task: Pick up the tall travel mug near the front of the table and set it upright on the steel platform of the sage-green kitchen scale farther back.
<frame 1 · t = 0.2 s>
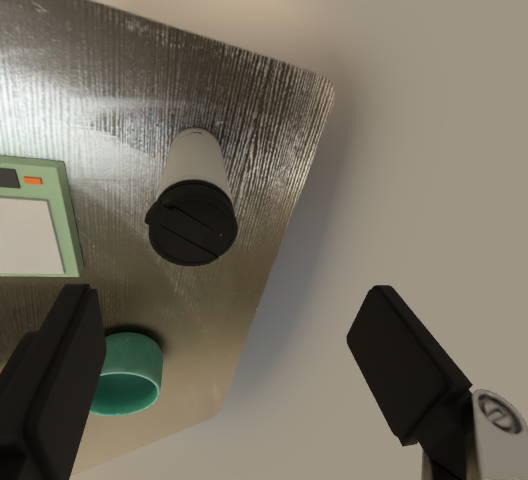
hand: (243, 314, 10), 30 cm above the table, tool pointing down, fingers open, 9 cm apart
scale: (12, 216, 36), on the table
travel mug: (195, 151, 36), on the table
mug: (118, 344, 53), on the table
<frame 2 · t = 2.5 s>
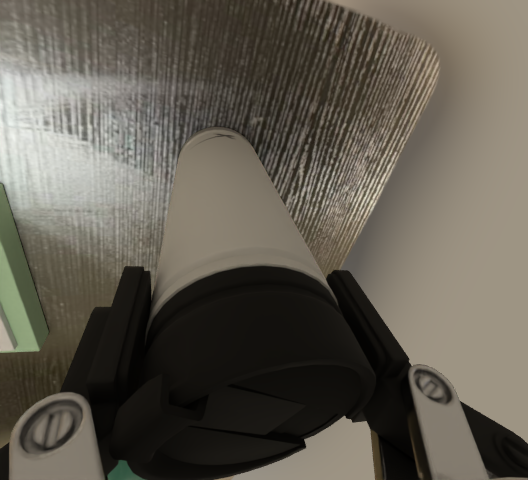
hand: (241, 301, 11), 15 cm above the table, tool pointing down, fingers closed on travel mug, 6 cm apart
travel mug: (216, 164, 23), on the table, touching gripper
mug: (103, 419, 39), on the table
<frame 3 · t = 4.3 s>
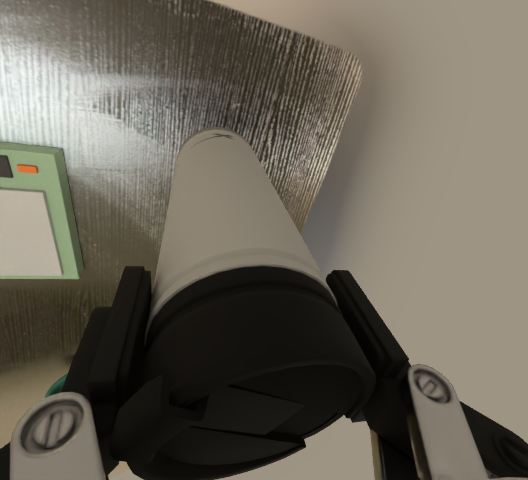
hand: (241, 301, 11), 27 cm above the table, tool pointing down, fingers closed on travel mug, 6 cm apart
scale: (4, 211, 33), on the table
travel mug: (215, 164, 23), point 11 cm above the table, touching gripper
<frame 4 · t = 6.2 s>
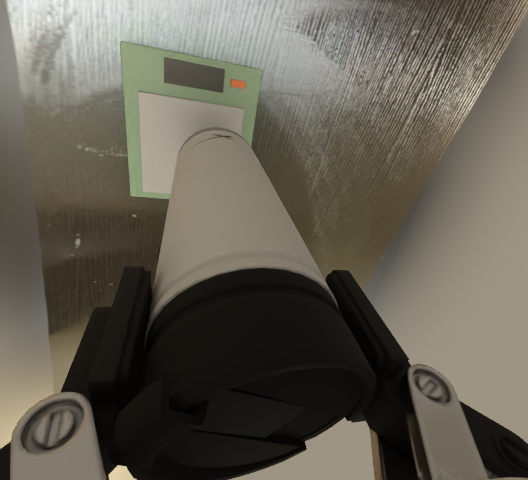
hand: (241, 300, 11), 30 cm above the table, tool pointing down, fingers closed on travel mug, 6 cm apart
scale: (192, 133, 35), on the table
travel mug: (215, 165, 23), point 14 cm above the table, touching gripper
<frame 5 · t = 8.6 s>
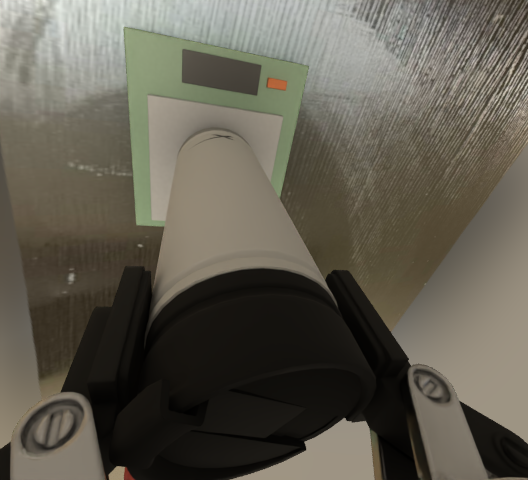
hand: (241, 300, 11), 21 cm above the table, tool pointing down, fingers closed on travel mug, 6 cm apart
scale: (213, 146, 28), on the table
travel mug: (215, 165, 23), point 6 cm above the table, touching gripper
when the fingers open (18 cm above the table, at t = 10.1 s): travel mug stays where it is, resting on scale.
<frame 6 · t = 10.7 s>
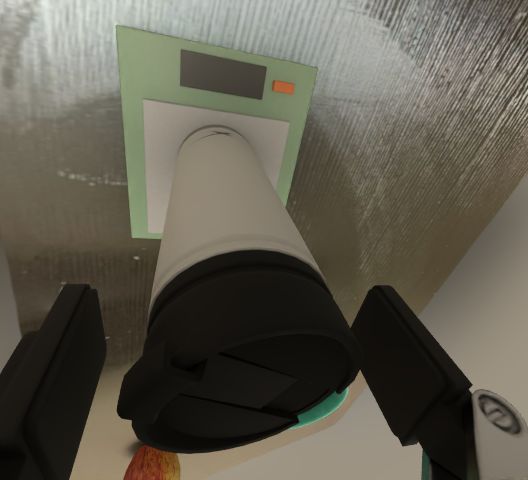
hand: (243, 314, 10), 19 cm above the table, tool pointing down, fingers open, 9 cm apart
scale: (214, 153, 26), on the table
travel mug: (215, 162, 24), point 3 cm above the table, touching scale
apple: (156, 443, 52), on the table
mug: (268, 338, 42), on the table
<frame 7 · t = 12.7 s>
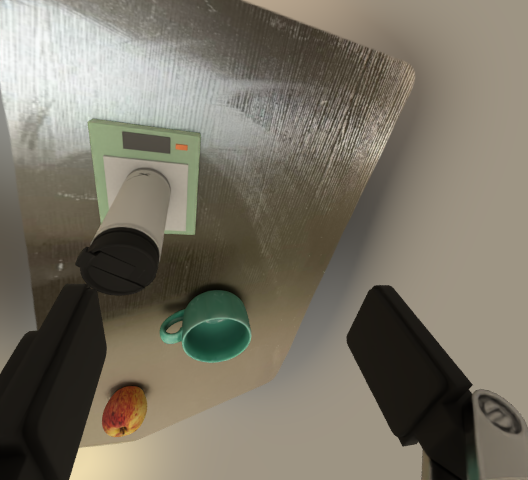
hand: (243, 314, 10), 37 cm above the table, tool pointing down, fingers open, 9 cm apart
scale: (150, 180, 44), on the table
travel mug: (147, 187, 42), point 3 cm above the table, touching scale
apple: (130, 389, 70), on the table
mug: (205, 303, 60), on the table
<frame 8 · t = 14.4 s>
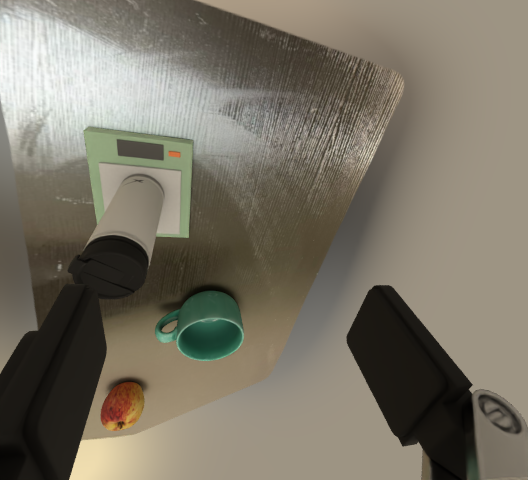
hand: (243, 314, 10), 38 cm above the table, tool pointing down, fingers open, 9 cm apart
scale: (145, 185, 45), on the table
travel mug: (141, 192, 43), point 3 cm above the table, touching scale
apple: (128, 384, 72), on the table
mug: (200, 303, 61), on the table
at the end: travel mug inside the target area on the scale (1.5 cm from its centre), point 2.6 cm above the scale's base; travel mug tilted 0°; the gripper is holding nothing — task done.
